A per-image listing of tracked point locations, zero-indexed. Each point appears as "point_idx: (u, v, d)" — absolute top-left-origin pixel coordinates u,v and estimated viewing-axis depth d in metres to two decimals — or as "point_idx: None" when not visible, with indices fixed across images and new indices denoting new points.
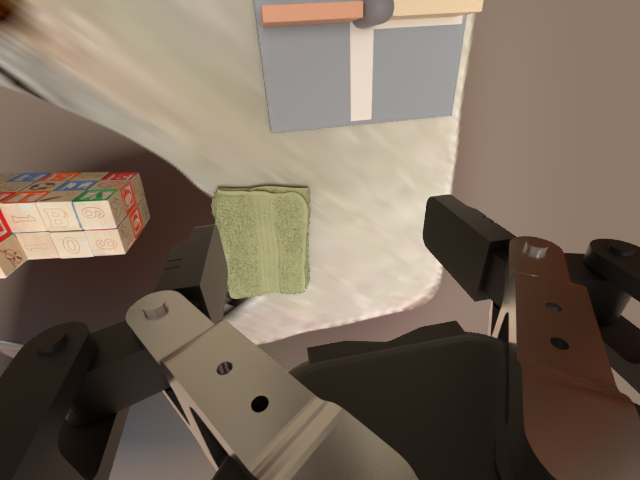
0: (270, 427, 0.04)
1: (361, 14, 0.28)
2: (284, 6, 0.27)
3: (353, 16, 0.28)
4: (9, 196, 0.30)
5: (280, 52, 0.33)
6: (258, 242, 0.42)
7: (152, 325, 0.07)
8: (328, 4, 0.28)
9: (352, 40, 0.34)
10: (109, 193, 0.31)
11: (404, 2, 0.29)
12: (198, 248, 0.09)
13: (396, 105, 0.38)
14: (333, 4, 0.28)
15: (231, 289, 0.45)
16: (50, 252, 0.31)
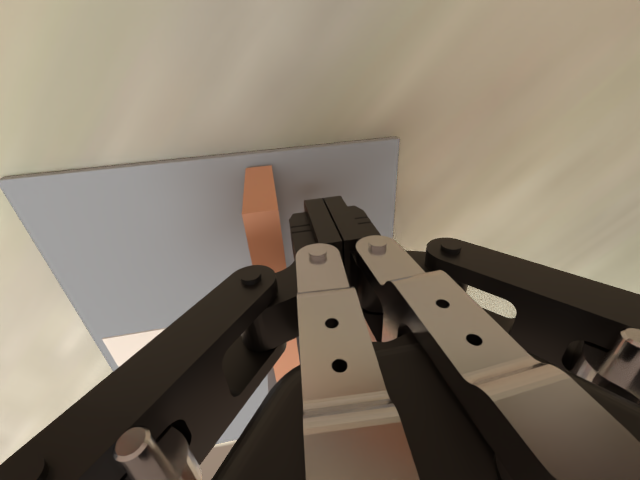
0: (335, 388, 0.05)
1: None
2: (281, 258, 0.11)
3: (276, 372, 0.14)
4: None
5: (204, 201, 0.15)
6: None
7: (324, 267, 0.08)
8: None
9: None
10: None
11: None
12: (320, 215, 0.11)
13: None
14: (293, 341, 0.14)
15: None
16: None
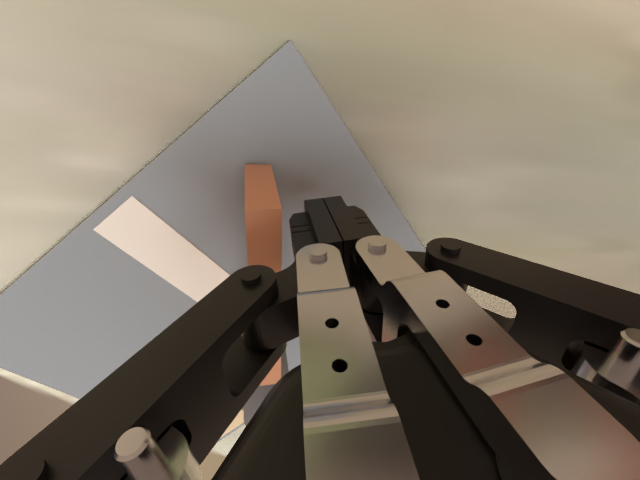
0: (335, 387, 0.05)
1: None
2: (277, 258, 0.11)
3: None
4: None
5: None
6: None
7: (325, 267, 0.08)
8: None
9: None
10: None
11: (235, 424, 0.16)
12: (321, 215, 0.11)
13: (75, 282, 0.16)
14: None
15: None
16: None
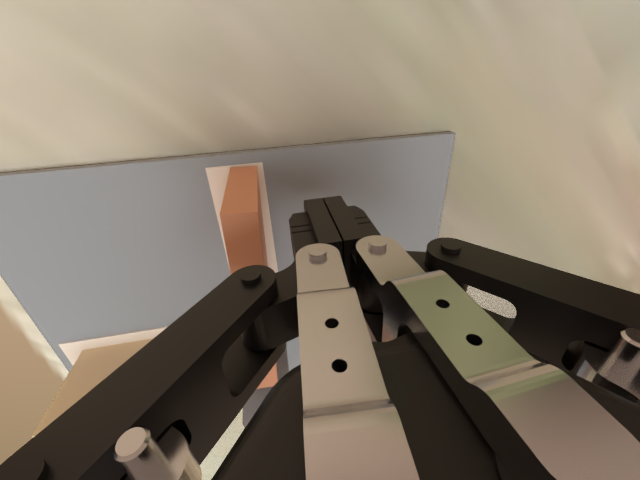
0: (335, 387, 0.05)
1: None
2: (259, 261, 0.11)
3: None
4: None
5: None
6: None
7: (324, 267, 0.08)
8: None
9: None
10: None
11: None
12: (320, 215, 0.11)
13: (142, 202, 0.15)
14: None
15: None
16: None
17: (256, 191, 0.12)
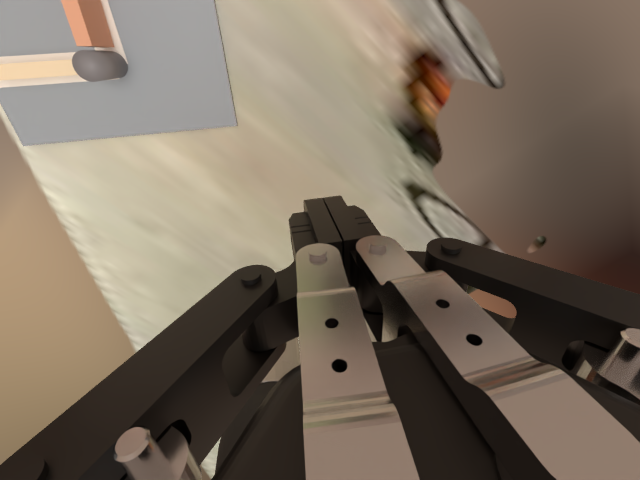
0: (335, 388, 0.05)
1: (78, 44, 0.27)
2: None
3: (73, 33, 0.26)
4: None
5: (197, 25, 0.32)
6: None
7: (324, 267, 0.08)
8: None
9: (117, 38, 0.31)
10: None
11: (64, 73, 0.28)
12: (320, 215, 0.11)
13: None
14: (77, 6, 0.25)
15: None
16: None
17: None
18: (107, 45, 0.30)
